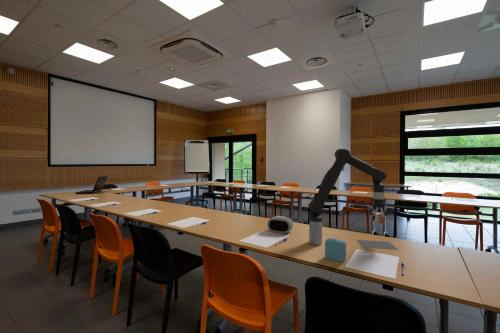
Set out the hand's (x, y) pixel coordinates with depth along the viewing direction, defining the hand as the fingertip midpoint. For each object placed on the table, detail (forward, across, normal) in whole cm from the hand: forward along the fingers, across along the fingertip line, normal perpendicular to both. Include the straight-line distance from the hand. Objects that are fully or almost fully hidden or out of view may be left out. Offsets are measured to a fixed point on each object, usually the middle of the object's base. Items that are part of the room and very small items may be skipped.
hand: (378, 220), depth 182 cm
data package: (+19, -35, -33) cm, 52 cm away
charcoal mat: (+18, -1, 0) cm, 18 cm away
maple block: (-2, 0, +7) cm, 7 cm away
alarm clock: (+19, -73, +19) cm, 78 cm away
